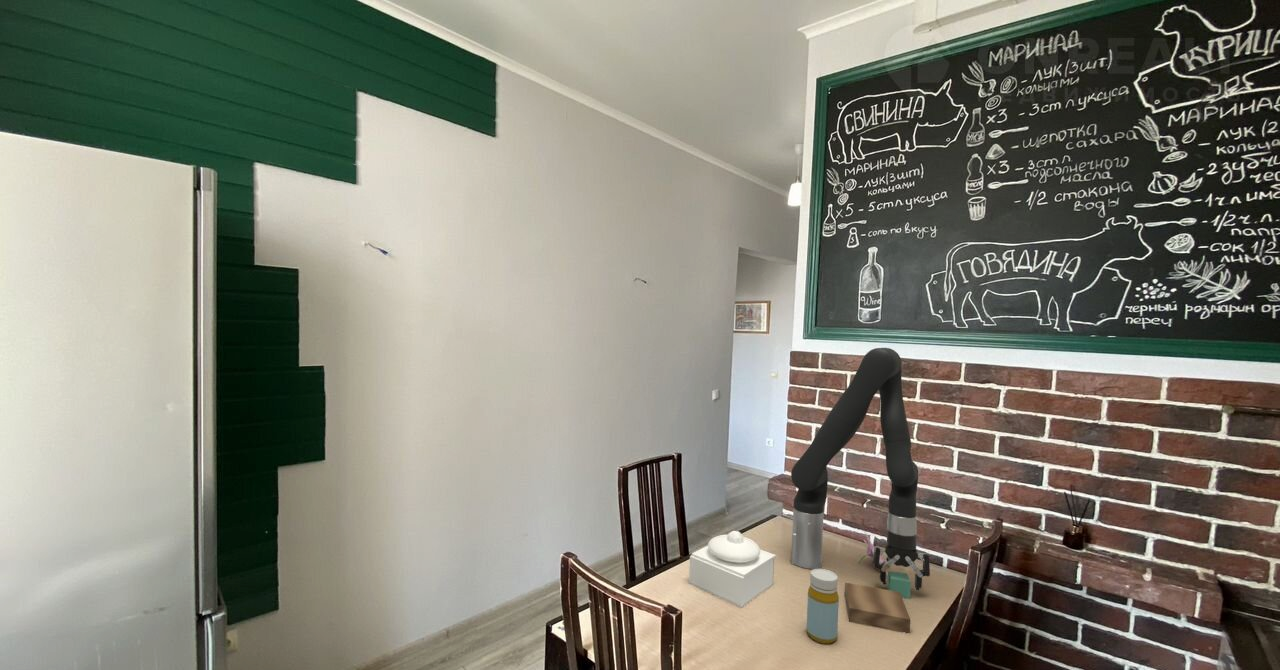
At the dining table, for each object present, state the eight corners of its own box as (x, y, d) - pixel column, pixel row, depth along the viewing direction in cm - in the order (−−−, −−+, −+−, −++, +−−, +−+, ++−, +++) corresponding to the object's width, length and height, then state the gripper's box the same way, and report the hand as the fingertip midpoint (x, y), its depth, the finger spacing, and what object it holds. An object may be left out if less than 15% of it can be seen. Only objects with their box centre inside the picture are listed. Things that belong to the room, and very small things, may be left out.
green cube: (890, 595, 142) (891, 578, 142) (887, 587, 147) (888, 570, 147) (909, 599, 141) (910, 581, 141) (906, 590, 145) (907, 573, 145)
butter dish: (688, 584, 145) (690, 529, 145) (723, 564, 158) (725, 514, 158) (741, 608, 133) (744, 549, 133) (774, 585, 146) (776, 530, 146)
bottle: (801, 627, 125) (804, 567, 125) (828, 627, 126) (831, 567, 126) (813, 645, 118) (816, 581, 118) (842, 644, 119) (844, 581, 119)
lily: (871, 580, 153) (889, 555, 152) (839, 552, 161) (856, 528, 160) (884, 580, 161) (902, 557, 160) (853, 553, 169) (870, 530, 168)
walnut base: (848, 623, 128) (849, 607, 128) (844, 596, 142) (844, 582, 142) (909, 635, 124) (910, 619, 124) (899, 606, 137) (899, 592, 137)
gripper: (876, 530, 142) (875, 588, 142) (933, 538, 138) (931, 597, 138) (872, 521, 149) (871, 576, 149) (926, 528, 145) (925, 584, 145)
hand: (900, 586), depth 143 cm, fingers open, 8 cm apart
